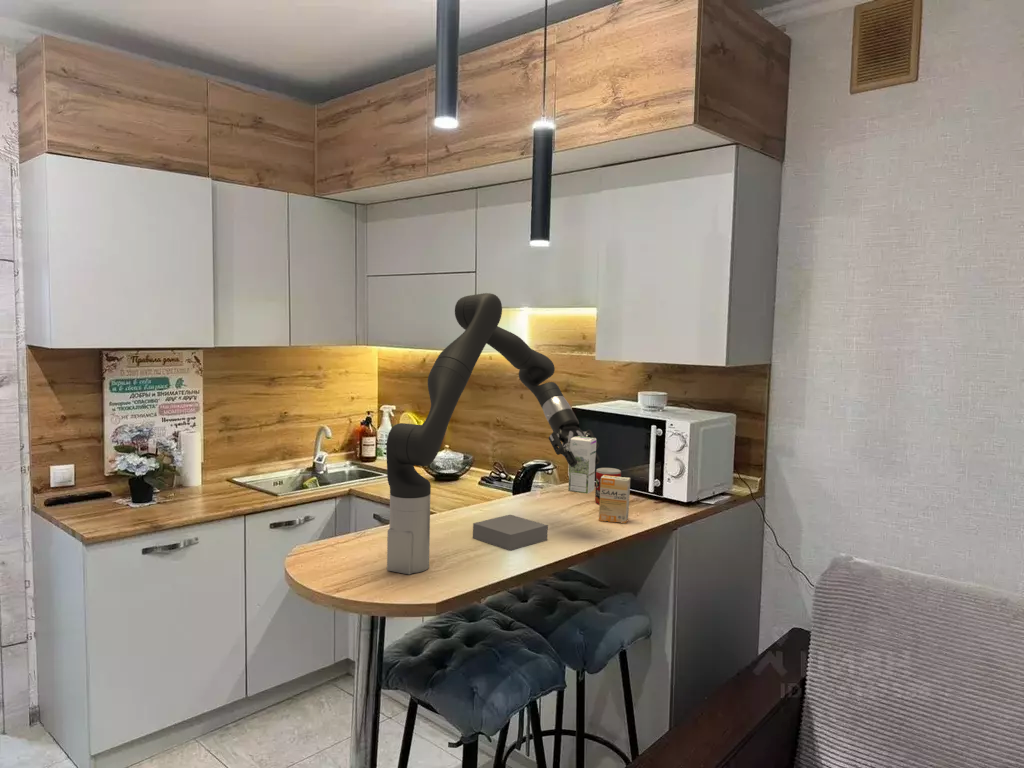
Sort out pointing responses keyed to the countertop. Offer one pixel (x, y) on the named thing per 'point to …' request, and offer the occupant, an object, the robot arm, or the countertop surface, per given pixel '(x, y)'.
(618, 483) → the supplement box
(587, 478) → the syrup box
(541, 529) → the plate
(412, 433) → the robot arm
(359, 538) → the countertop surface
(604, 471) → the canned food
